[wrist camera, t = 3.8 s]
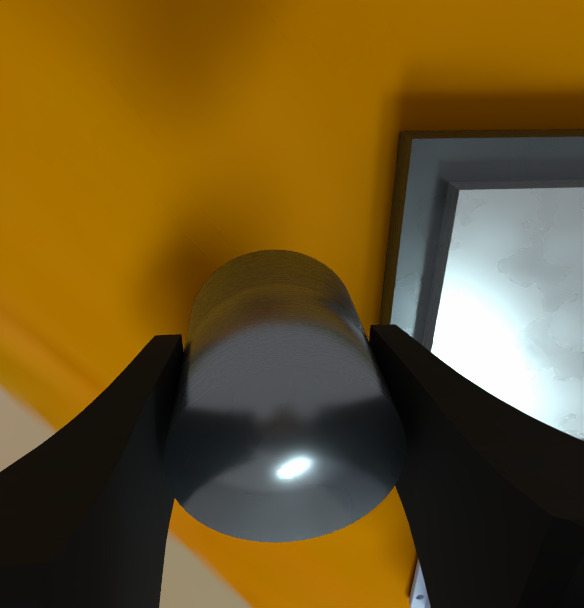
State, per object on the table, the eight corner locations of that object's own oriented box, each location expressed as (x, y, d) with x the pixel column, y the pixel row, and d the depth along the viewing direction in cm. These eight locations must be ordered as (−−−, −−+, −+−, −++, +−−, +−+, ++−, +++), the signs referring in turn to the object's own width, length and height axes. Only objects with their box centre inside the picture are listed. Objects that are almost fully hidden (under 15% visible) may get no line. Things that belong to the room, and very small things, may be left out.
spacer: (349, 385, 15) (394, 533, 10) (199, 393, 14) (178, 551, 10) (358, 246, 12) (420, 359, 8) (182, 253, 12) (145, 374, 8)
